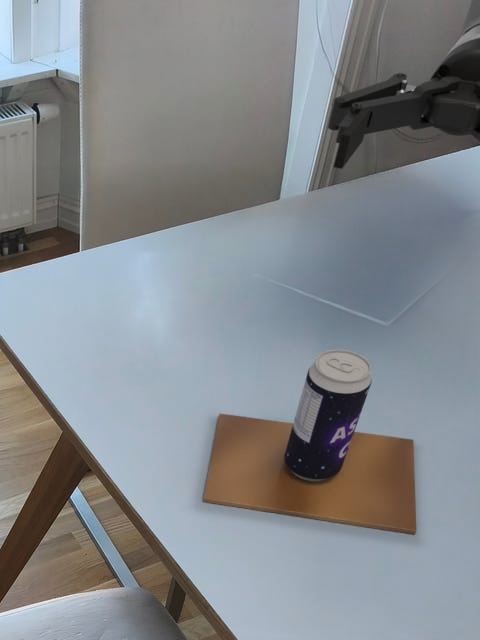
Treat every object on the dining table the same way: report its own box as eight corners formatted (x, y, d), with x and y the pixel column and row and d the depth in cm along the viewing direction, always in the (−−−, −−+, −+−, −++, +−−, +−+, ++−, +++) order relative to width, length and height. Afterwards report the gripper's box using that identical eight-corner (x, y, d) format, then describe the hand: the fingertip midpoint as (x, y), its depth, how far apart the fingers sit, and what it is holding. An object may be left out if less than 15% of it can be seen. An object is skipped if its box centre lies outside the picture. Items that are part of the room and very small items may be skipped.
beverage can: (318, 494, 87) (353, 391, 77) (270, 468, 89) (298, 365, 80) (350, 467, 89) (388, 364, 80) (303, 442, 92) (333, 339, 82)
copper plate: (412, 443, 92) (413, 439, 91) (414, 534, 83) (416, 530, 83) (218, 416, 96) (219, 413, 95) (202, 501, 87) (203, 498, 87)
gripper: (595, 145, 84) (559, 242, 73) (338, 101, 93) (270, 183, 82) (637, 56, 79) (605, 147, 67) (358, 18, 87) (288, 93, 76)
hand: (421, 167), depth 74 cm, fingers open, 13 cm apart
